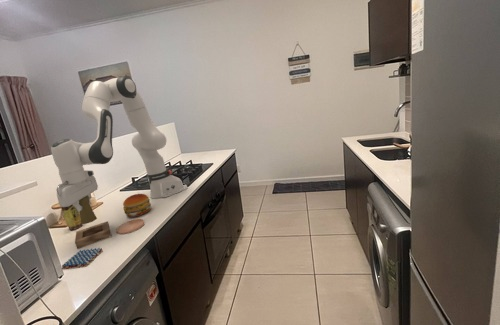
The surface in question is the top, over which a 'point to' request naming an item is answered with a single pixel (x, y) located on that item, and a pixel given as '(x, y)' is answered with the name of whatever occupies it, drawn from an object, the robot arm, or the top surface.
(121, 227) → the saucer
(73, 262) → the woven mat
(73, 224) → the sauce bottle
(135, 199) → the burger
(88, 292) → the top surface
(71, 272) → the top surface
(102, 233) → the brown wooden tray
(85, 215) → the cork
